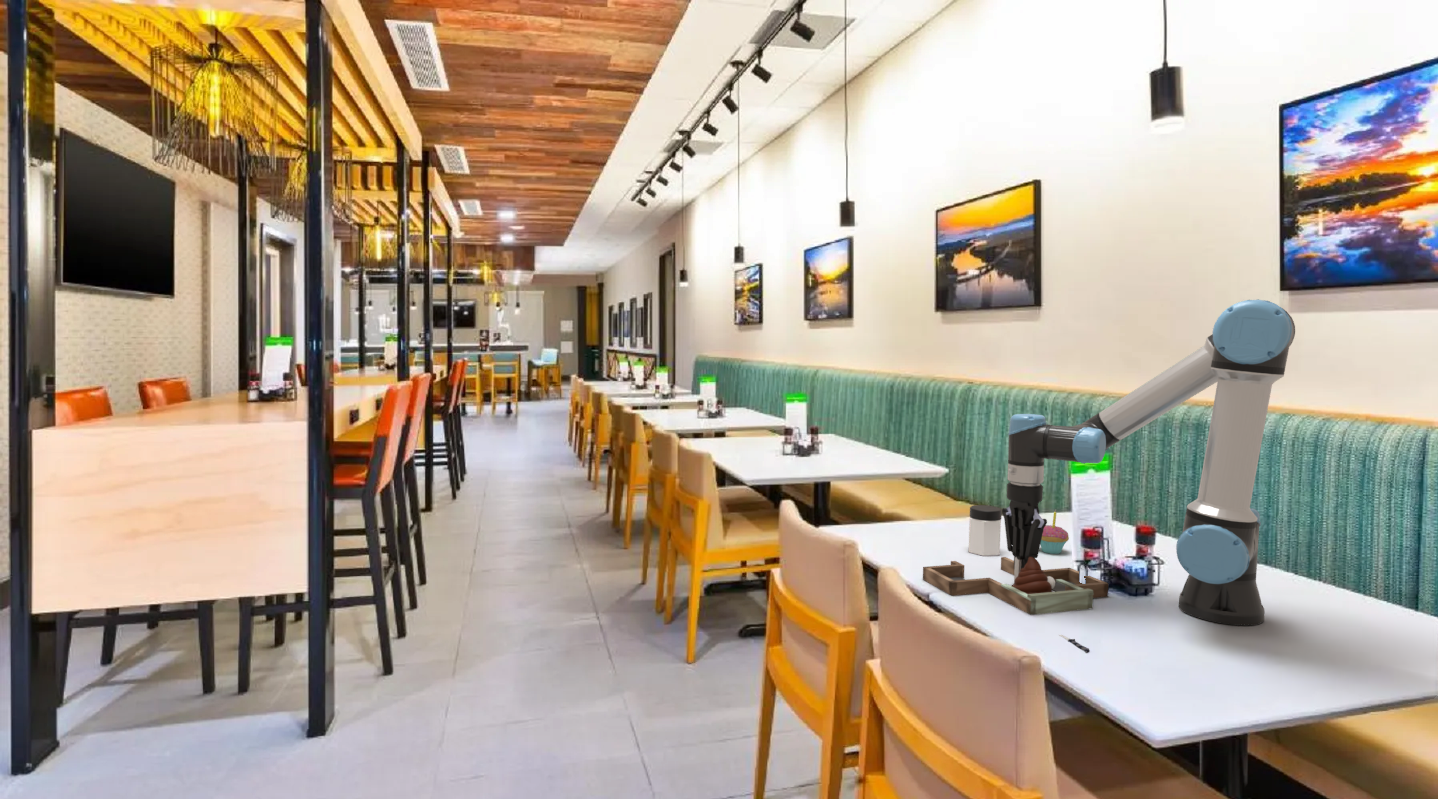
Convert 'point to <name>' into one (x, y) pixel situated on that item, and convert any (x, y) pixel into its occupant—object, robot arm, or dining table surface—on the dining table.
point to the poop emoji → (1033, 579)
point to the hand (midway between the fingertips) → (1021, 585)
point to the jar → (985, 530)
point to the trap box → (1063, 599)
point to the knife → (1076, 644)
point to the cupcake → (1053, 538)
